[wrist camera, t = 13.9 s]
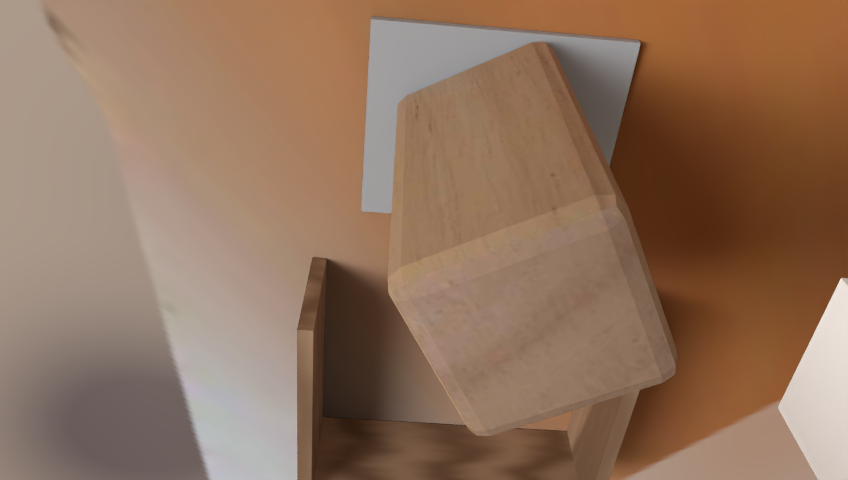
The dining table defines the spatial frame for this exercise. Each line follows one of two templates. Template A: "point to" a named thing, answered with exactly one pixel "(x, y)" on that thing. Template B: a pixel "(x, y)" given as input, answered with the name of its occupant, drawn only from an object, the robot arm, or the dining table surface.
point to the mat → (468, 47)
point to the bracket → (438, 431)
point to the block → (519, 248)
